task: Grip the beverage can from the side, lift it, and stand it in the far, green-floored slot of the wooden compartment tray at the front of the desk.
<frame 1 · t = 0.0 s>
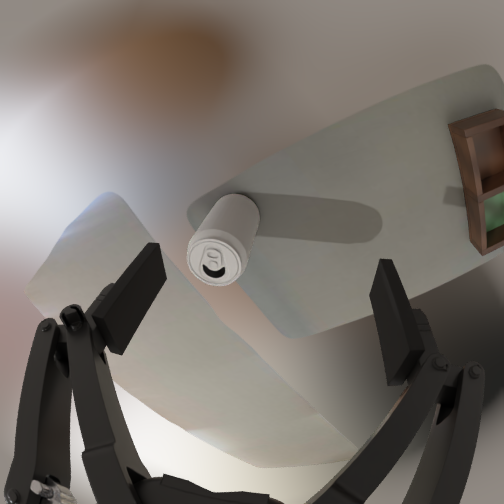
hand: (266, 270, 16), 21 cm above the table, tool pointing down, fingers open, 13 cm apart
beverage can: (237, 213, 38), on the table
wooden compartment tray: (486, 177, 28), on the table
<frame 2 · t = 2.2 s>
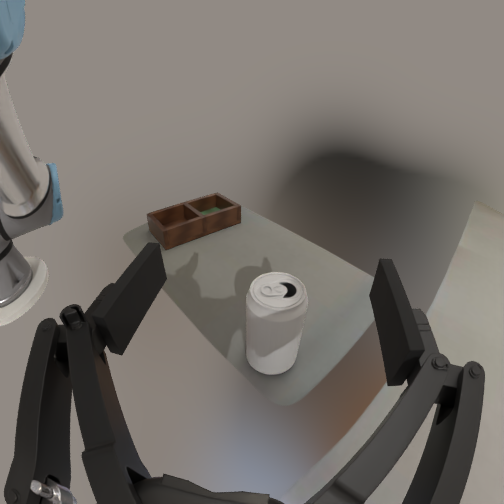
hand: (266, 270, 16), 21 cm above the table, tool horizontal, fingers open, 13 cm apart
beverage can: (270, 358, 35), on the table
wooden compartment tray: (194, 226, 62), on the table
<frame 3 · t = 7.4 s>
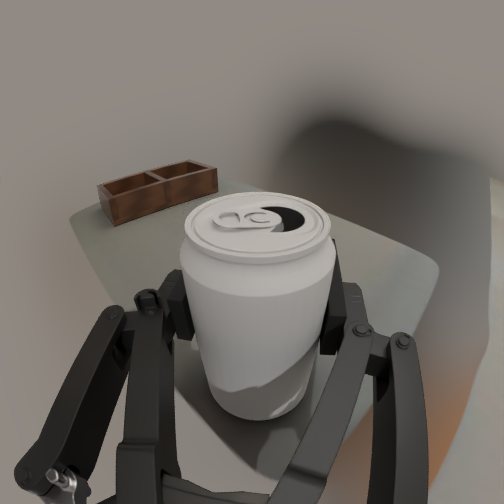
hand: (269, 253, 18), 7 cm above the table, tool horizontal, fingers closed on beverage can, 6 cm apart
beverage can: (257, 384, 17), on the table, touching gripper
wooden compartment tray: (157, 199, 45), on the table
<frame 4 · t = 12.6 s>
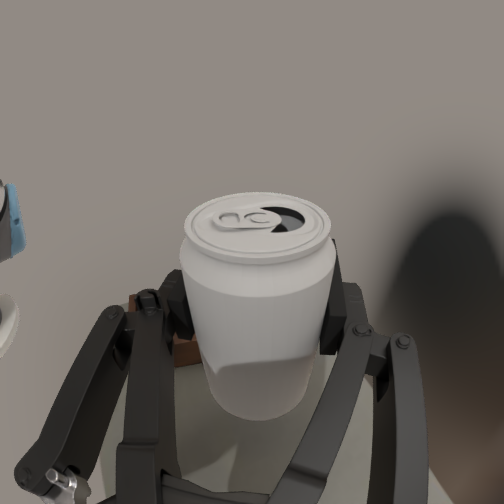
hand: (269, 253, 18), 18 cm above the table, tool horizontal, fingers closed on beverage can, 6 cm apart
beverage can: (257, 385, 17), point 11 cm above the table, touching gripper
wooden compartment tray: (205, 331, 35), on the table
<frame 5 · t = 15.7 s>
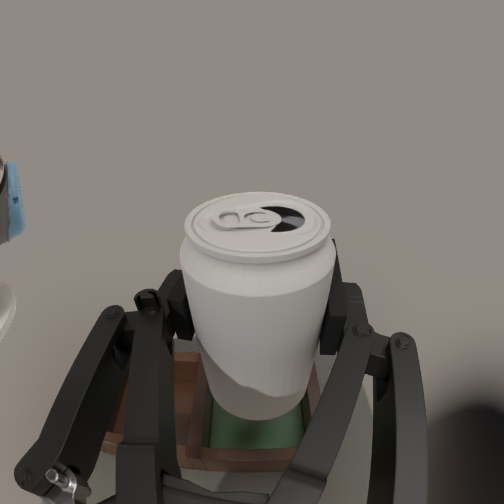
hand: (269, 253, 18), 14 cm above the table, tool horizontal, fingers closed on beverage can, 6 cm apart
beverage can: (257, 384, 17), point 7 cm above the table, touching gripper
wooden compartment tray: (207, 421, 21), on the table
when the fingers open (8 cm above the table, at t = 17.8 s): beverage can stays where it is, resting on wooden compartment tray.
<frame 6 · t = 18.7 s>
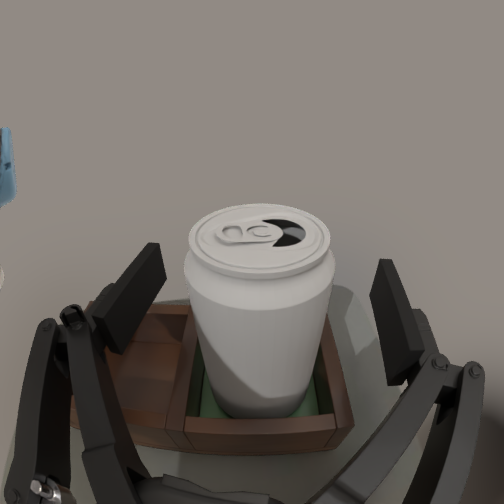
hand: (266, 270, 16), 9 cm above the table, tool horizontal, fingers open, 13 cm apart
beverage can: (259, 388, 18), point 1 cm above the table, touching wooden compartment tray
wooden compartment tray: (197, 392, 18), on the table
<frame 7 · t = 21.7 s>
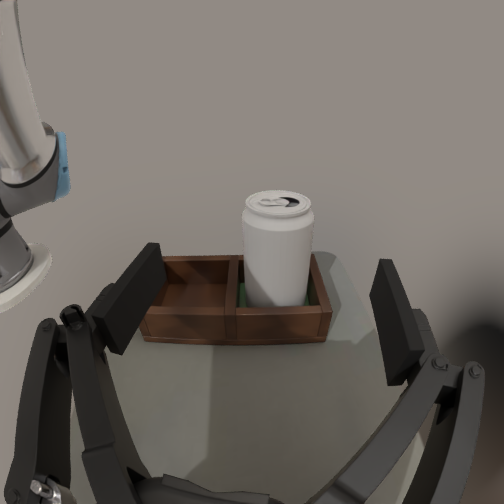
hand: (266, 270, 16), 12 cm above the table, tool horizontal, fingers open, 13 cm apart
beverage can: (274, 305, 30), point 1 cm above the table, touching wooden compartment tray
wooden compartment tray: (234, 311, 31), on the table
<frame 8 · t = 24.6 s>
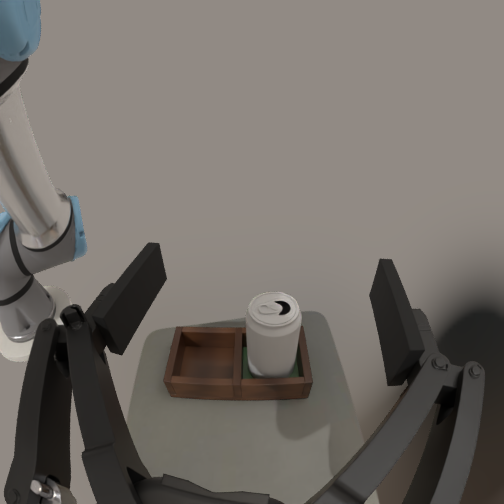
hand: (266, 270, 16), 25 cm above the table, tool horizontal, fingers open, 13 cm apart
beverage can: (270, 368, 37), point 1 cm above the table, touching wooden compartment tray
wooden compartment tray: (239, 371, 38), on the table
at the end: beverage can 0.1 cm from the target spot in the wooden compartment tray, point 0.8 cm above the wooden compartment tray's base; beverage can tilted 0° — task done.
